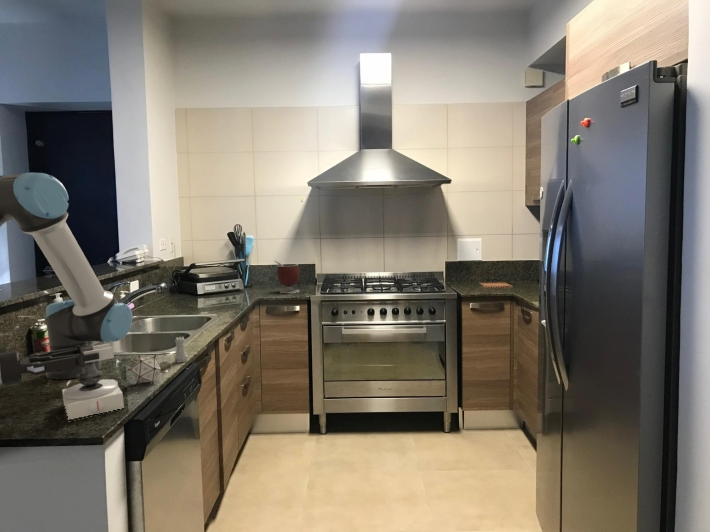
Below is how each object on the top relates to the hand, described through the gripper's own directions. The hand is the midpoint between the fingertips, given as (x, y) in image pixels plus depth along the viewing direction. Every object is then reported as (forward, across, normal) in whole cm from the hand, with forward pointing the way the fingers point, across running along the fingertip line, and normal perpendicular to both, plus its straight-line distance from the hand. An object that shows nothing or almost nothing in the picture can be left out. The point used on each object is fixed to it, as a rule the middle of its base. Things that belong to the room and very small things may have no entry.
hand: (111, 350), depth 125 cm
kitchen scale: (-5, 0, -14) cm, 15 cm away
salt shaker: (-5, 0, -9) cm, 10 cm away
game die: (+10, -10, -14) cm, 20 cm away
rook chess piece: (+24, -26, -14) cm, 38 cm away
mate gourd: (+120, -137, -14) cm, 182 cm away
